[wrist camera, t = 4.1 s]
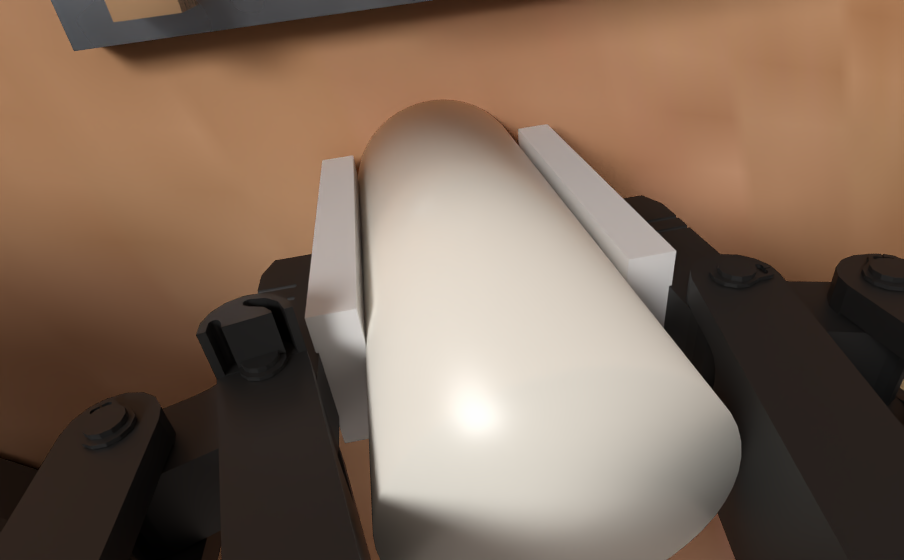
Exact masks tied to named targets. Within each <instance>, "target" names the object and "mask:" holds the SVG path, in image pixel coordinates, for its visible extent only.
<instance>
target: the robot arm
mask: <svg viewBox="0 0 904 560" xmlns="http://www.w3.org/2000/svg"><path fill="white" fill-rule="evenodd" d="M518 139H519V147H520V148H521V149H522V151H523V152H524V153H525V154H526V156H527V157H528V158H529V159H530V161H531V162H532V163H533V164H534V166H535V167H536V168H537V169H538V171H539V172H540V173H541V174H542V176H543V177H544V178H545V179H546V181H547V182H548V183H549V184H550V186H551V187H552V188H553V190H554V191H555V192H556V193H557V195H558V196H559V197H560V198H561V200H562V201H563V202H564V203H565V205H566V206H567V207H568V208H569V210H570V211H571V212H572V213H573V215H574V216H575V217H576V218H577V220H578V221H579V222H580V224H581V225H582V226H583V227H584V229H585V230H586V231H587V232H588V234H589V235H590V236H591V237H592V239H593V240H594V241H595V242H596V244H597V245H598V246H599V247H600V249H601V250H602V251H603V252H604V254H605V255H606V256H607V258H608V259H609V260H610V261H611V263H612V264H613V265H614V266H615V268H616V269H617V270H618V271H619V273H620V274H621V275H622V276H623V278H624V279H625V280H626V281H627V283H628V284H629V285H630V286H631V288H632V289H633V290H634V292H635V293H636V294H637V295H638V297H639V298H640V299H641V300H642V302H643V303H644V304H645V305H646V307H647V308H648V309H649V310H650V312H651V313H652V314H653V315H654V317H655V318H656V319H657V320H658V322H659V323H660V324H661V326H662V327H663V328H664V329H665V331H666V332H667V333H668V334H669V336H670V337H671V338H672V339H673V341H674V342H675V343H676V344H677V346H678V347H679V348H680V349H681V351H682V352H683V353H684V354H685V356H686V357H687V358H688V360H689V361H690V362H691V363H692V365H693V366H694V367H695V368H696V370H697V371H698V372H699V373H700V375H701V376H702V377H703V378H704V380H705V381H706V382H707V383H708V385H709V386H710V387H711V388H712V390H713V391H714V392H715V394H716V395H717V396H718V397H719V399H720V400H721V401H722V402H723V404H724V405H725V406H726V407H727V409H728V410H729V411H730V412H731V414H732V416H733V418H734V420H735V422H736V424H737V426H738V430H739V434H740V439H741V461H740V467H739V472H738V475H737V477H736V480H735V483H734V486H733V488H732V490H731V492H730V494H729V495H728V497H727V499H726V501H725V503H724V504H723V505H722V507H721V508H720V510H719V511H718V515H719V518H720V520H721V523H722V525H723V528H724V531H725V533H726V536H727V538H728V541H729V544H730V546H731V549H732V551H733V554H734V557H735V559H736V560H904V390H902V389H901V388H900V386H901V384H902V382H903V379H904V259H901V258H898V257H896V256H893V255H886V254H883V255H881V254H864V255H853V256H851V257H848V258H845V259H843V260H841V261H840V263H839V264H838V265H837V267H836V269H835V272H834V275H833V278H832V282H791V281H785V280H784V278H783V277H782V276H781V275H780V273H779V272H777V271H776V270H775V269H774V268H772V267H771V266H770V265H768V264H766V263H764V262H761V261H759V260H757V259H755V258H750V257H745V256H741V255H729V254H719V253H718V252H717V251H716V250H715V249H714V248H713V247H711V246H710V245H709V244H708V243H707V242H706V241H705V240H703V239H702V238H701V237H700V236H699V235H698V234H697V233H695V232H694V231H693V230H692V229H691V228H690V227H689V228H687V225H686V224H685V223H684V222H683V221H682V220H681V219H679V218H676V215H675V214H674V213H673V212H671V211H670V210H669V209H668V208H667V207H666V206H665V205H663V204H662V203H659V202H657V201H654V200H652V199H650V198H647V197H645V196H642V195H641V196H635V197H630V198H624V199H623V198H622V197H621V196H620V195H619V194H618V193H617V192H616V191H615V190H614V189H613V188H612V187H611V186H610V185H609V184H608V183H607V182H606V181H605V180H604V179H603V178H602V177H601V176H600V175H598V174H597V173H596V172H595V171H594V170H593V169H592V168H591V167H590V166H589V165H588V164H587V163H586V162H585V161H584V160H583V159H582V158H581V157H580V156H579V155H578V154H577V153H576V152H575V151H574V150H573V149H572V148H571V147H570V146H569V145H568V144H567V143H566V142H565V141H564V140H563V139H562V138H561V137H560V136H559V135H558V134H557V133H556V132H555V131H554V130H553V129H552V128H551V127H550V126H549V125H548V124H546V125H539V126H533V127H527V128H521V129H518ZM196 336H197V338H198V340H199V342H200V344H201V346H202V348H203V351H204V353H205V355H206V357H207V359H208V361H209V363H210V365H211V368H212V370H213V372H214V374H215V376H216V378H217V384H216V385H215V386H213V387H212V388H210V389H208V390H206V391H204V392H202V393H200V394H198V395H196V396H194V397H191V398H189V399H186V400H184V401H181V402H179V403H176V404H174V405H171V406H169V407H167V408H164V409H162V407H161V406H160V404H159V402H158V401H157V399H156V397H154V396H152V395H149V394H146V393H144V392H141V393H125V394H122V395H118V396H115V397H111V398H108V399H106V400H104V401H101V402H100V403H97V404H95V405H94V406H92V407H90V408H88V409H87V410H86V411H84V412H83V413H82V414H80V415H79V416H78V417H76V418H75V419H74V420H72V421H71V422H70V424H69V425H68V426H67V427H66V428H65V430H64V431H63V432H62V433H61V434H60V436H59V437H58V439H57V440H56V442H55V444H54V445H53V447H52V449H51V450H50V452H49V454H48V455H47V457H46V459H45V460H44V462H43V464H42V465H41V467H40V468H39V470H36V469H33V468H30V467H27V466H24V465H21V464H18V463H15V462H11V461H8V460H4V459H0V560H218V556H219V551H220V547H221V554H222V560H371V559H370V555H369V551H368V548H367V544H366V540H365V536H364V533H363V529H362V525H361V522H360V518H359V514H358V511H357V507H356V503H355V500H354V496H353V492H352V488H351V485H350V481H349V477H348V474H347V470H346V466H345V463H344V460H343V457H342V454H341V451H340V448H339V426H340V429H341V432H342V436H343V439H344V442H345V443H349V442H354V441H359V440H364V439H369V430H368V407H367V384H366V330H365V307H364V285H363V262H362V240H361V217H360V194H359V180H358V175H357V170H356V166H355V161H354V157H353V156H346V157H340V158H334V159H328V160H322V169H321V178H320V186H319V195H318V204H317V213H316V222H315V231H314V240H313V249H312V254H310V255H304V256H298V257H292V258H286V259H281V260H275V261H274V262H273V263H272V265H271V266H270V267H269V268H268V269H267V270H266V271H265V272H264V273H263V275H262V276H261V280H260V284H259V288H258V294H253V295H248V296H242V297H240V298H237V299H235V300H232V301H230V302H227V303H225V304H223V305H222V306H220V307H218V308H217V309H215V310H214V311H212V312H211V313H210V314H209V315H208V316H207V317H206V318H205V319H204V320H203V321H202V322H201V323H200V325H199V328H198V331H197V334H196Z"/></svg>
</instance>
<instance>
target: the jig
mask: <svg viewBox="0 0 904 560" xmlns="http://www.w3.org/2000/svg"><path fill="white" fill-rule="evenodd" d="M424 1H431V0H51V2H52V4H53V6H54V8H55V11H56V13H57V15H58V17H59V19H60V21H61V24H62V26H63V28H64V30H65V32H66V35H67V37H68V39H69V41H70V43H71V45H72V48H73V50H74V51H78V50H85V49H92V48H99V47H106V46H113V45H120V44H127V43H134V42H141V41H149V40H156V39H163V38H170V37H177V36H184V35H191V34H198V33H205V32H212V31H219V30H226V29H233V28H240V27H247V26H254V25H261V24H269V23H276V22H283V21H290V20H297V19H304V18H311V17H318V16H325V15H332V14H339V13H346V12H353V11H360V10H367V9H374V8H381V7H389V6H396V5H403V4H410V3H417V2H424Z"/></svg>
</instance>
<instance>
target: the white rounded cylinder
mask: <svg viewBox="0 0 904 560" xmlns="http://www.w3.org/2000/svg"><path fill="white" fill-rule="evenodd" d="M358 180H359V194H360V217H361V240H362V262H363V285H364V307H365V330H366V384H367V407H368V430H369V454H370V477H371V500H372V524H373V537H374V542H375V547H376V551H377V553H378V555H379V557H380V560H667V559H668V558H670V557H671V556H673V555H674V554H675V553H677V552H678V551H679V550H680V549H682V548H683V547H684V546H685V545H687V544H688V543H689V542H690V541H691V540H692V539H693V538H694V537H696V536H697V535H698V534H699V533H700V532H701V531H702V530H703V529H704V528H705V527H706V526H707V524H708V523H709V522H710V521H711V520H712V519H713V518H714V517H715V515H716V514H717V512H718V511H719V510H720V508H721V507H722V505H723V504H724V503H725V501H726V499H727V497H728V495H729V494H730V492H731V490H732V488H733V486H734V483H735V480H736V477H737V475H738V472H739V467H740V461H741V439H740V434H739V430H738V426H737V424H736V422H735V420H734V418H733V416H732V414H731V412H730V411H729V410H728V409H727V407H726V406H725V405H724V404H723V402H722V401H721V400H720V399H719V397H718V396H717V395H716V394H715V392H714V391H713V390H712V388H711V387H710V386H709V385H708V383H707V382H706V381H705V380H704V378H703V377H702V376H701V375H700V373H699V372H698V371H697V370H696V368H695V367H694V366H693V365H692V363H691V362H690V361H689V360H688V358H687V357H686V356H685V354H684V353H683V352H682V351H681V349H680V348H679V347H678V346H677V344H676V343H675V342H674V341H673V339H672V338H671V337H670V336H669V334H668V333H667V332H666V331H665V329H664V328H663V327H662V326H661V324H660V323H659V322H658V320H657V319H656V318H655V317H654V315H653V314H652V313H651V312H650V310H649V309H648V308H647V307H646V305H645V304H644V303H643V302H642V300H641V299H640V298H639V297H638V295H637V294H636V293H635V292H634V290H633V289H632V288H631V286H630V285H629V284H628V283H627V281H626V280H625V279H624V278H623V276H622V275H621V274H620V273H619V271H618V270H617V269H616V268H615V266H614V265H613V264H612V263H611V261H610V260H609V259H608V258H607V256H606V255H605V254H604V252H603V251H602V250H601V249H600V247H599V246H598V245H597V244H596V242H595V241H594V240H593V239H592V237H591V236H590V235H589V234H588V232H587V231H586V230H585V229H584V227H583V226H582V225H581V224H580V222H579V221H578V220H577V218H576V217H575V216H574V215H573V213H572V212H571V211H570V210H569V208H568V207H567V206H566V205H565V203H564V202H563V201H562V200H561V198H560V197H559V196H558V195H557V193H556V192H555V191H554V190H553V188H552V187H551V186H550V184H549V183H548V182H547V181H546V179H545V178H544V177H543V176H542V174H541V173H540V172H539V171H538V169H537V168H536V167H535V166H534V164H533V163H532V162H531V161H530V159H529V158H528V157H527V156H526V154H525V153H524V152H523V151H522V149H521V148H520V147H519V145H518V144H517V143H516V142H515V140H514V139H513V138H512V137H511V135H510V134H509V133H508V132H507V130H506V129H505V128H504V127H503V125H502V124H501V123H500V122H499V121H498V120H497V119H495V118H494V117H493V116H492V115H490V114H489V113H487V112H486V111H484V110H482V109H480V108H478V107H476V106H474V105H471V104H468V103H465V102H460V101H455V100H432V101H427V102H422V103H418V104H415V105H413V106H410V107H408V108H406V109H404V110H402V111H400V112H398V113H397V114H395V115H394V116H392V117H391V118H390V119H388V120H387V121H386V122H385V123H384V124H383V125H382V126H381V127H380V128H379V129H378V130H377V131H376V133H375V134H374V135H373V136H372V138H371V140H370V141H369V143H368V144H367V146H366V149H365V151H364V153H363V155H362V159H361V162H360V166H359V173H358Z"/></svg>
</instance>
